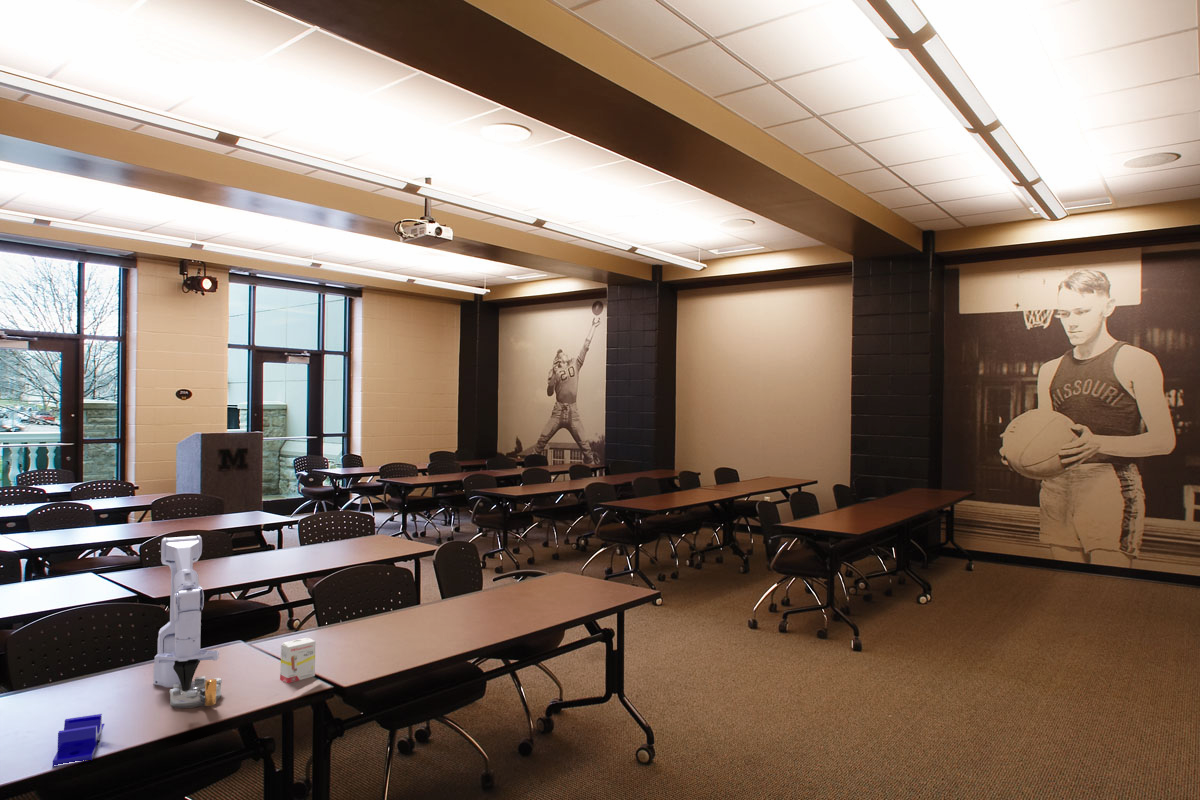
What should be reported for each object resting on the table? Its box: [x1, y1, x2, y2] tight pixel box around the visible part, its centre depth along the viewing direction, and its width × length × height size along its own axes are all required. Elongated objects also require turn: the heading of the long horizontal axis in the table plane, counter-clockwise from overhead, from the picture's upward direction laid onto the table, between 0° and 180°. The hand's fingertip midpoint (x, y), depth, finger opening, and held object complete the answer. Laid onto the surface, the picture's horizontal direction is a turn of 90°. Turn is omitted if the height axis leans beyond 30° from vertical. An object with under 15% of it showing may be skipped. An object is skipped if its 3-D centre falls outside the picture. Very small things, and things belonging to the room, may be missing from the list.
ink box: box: [279, 637, 316, 684], centre depth 211 cm, size 9×5×12 cm, turn 137°
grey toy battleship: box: [169, 675, 223, 709], centre depth 193 cm, size 17×12×8 cm
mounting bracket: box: [52, 713, 105, 767], centre depth 169 cm, size 18×7×6 cm, turn 27°
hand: (186, 689), depth 184 cm, fingers closed
